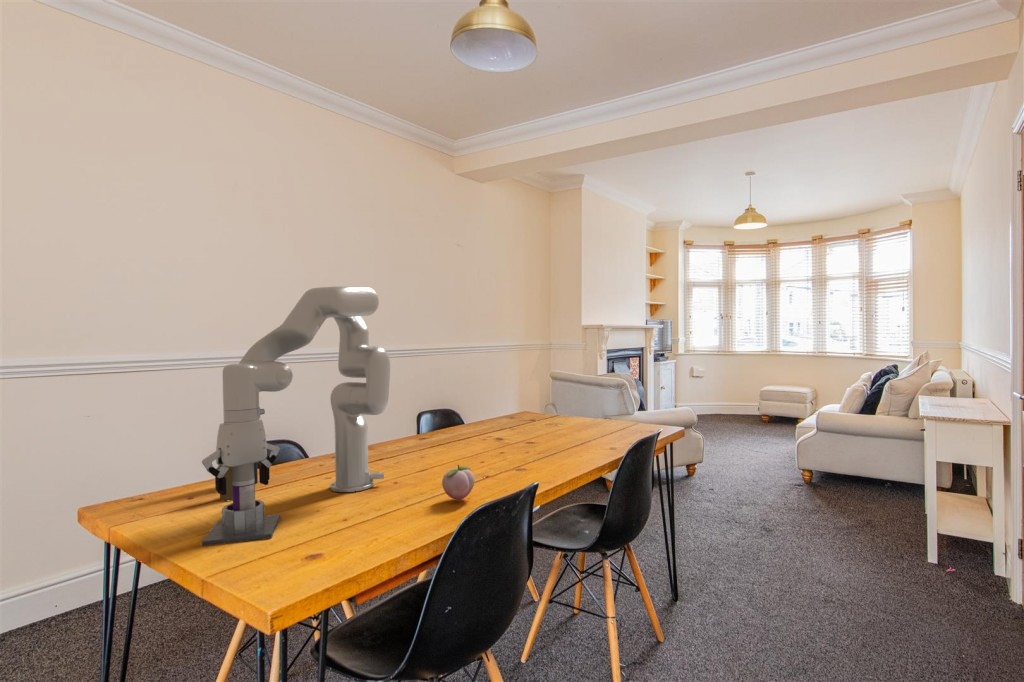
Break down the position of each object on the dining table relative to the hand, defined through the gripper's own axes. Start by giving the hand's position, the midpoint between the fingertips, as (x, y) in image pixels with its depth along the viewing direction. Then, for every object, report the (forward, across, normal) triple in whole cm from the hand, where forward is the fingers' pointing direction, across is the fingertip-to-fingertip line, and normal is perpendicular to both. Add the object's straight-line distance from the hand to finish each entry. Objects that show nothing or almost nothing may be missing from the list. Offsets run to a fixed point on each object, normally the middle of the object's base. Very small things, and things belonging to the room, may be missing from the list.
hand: (243, 488), depth 124 cm
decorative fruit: (+10, -46, +25) cm, 53 cm away
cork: (+10, -10, -30) cm, 33 cm away
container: (+9, 0, 0) cm, 9 cm away
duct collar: (+10, 0, 0) cm, 10 cm away
